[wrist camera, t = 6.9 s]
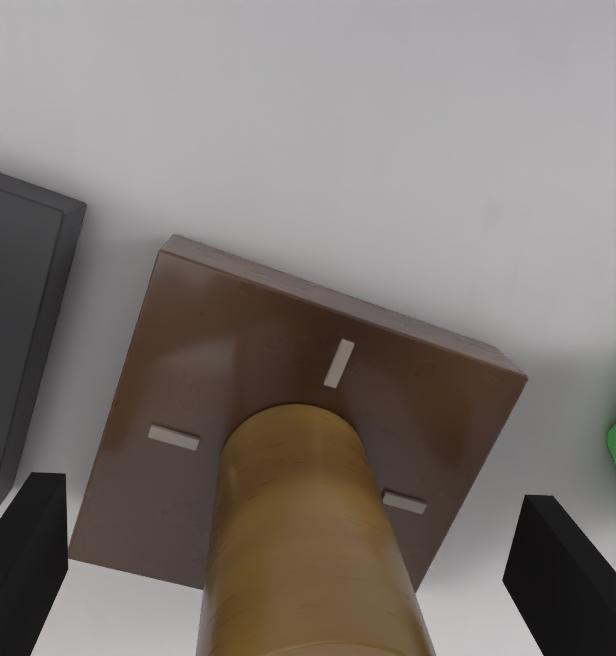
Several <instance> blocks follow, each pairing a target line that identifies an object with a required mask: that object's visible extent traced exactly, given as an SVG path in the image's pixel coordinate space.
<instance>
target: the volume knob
mask: <svg viewBox="0 0 616 656" xmlns="http://www.w3.org/2000/svg"><path fill="white" fill-rule="evenodd" d="M196 656H436V653H435V650H434V647H433V644H432V641H431V639H430V636H429V633H428V630H427V627H426V624H425V621H424V618H423V615H422V613H421V610H420V607H419V604H418V601H417V598H416V595H415V592H414V589H413V587H412V584H411V581H410V578H409V575H408V572H407V569H406V566H405V563H404V561H403V558H402V555H401V552H400V549H399V546H398V543H397V540H396V537H395V535H394V532H393V529H392V526H391V523H390V520H389V517H388V514H387V511H386V509H385V506H384V503H383V500H382V497H381V494H380V491H379V488H378V485H377V483H376V480H375V477H374V474H373V471H372V468H371V465H370V462H369V459H368V457H367V454H366V451H365V448H364V445H363V443H362V441H361V439H360V437H359V435H358V434H357V433H356V431H355V430H354V429H353V428H352V427H351V426H350V425H349V424H348V423H347V422H346V421H345V420H343V419H342V418H341V417H339V416H338V415H336V414H334V413H332V412H330V411H328V410H325V409H323V408H319V407H316V406H312V405H304V404H289V405H281V406H276V407H272V408H269V409H266V410H264V411H261V412H259V413H257V414H255V415H253V416H252V417H250V418H249V419H247V420H246V421H245V422H243V423H242V424H241V425H240V426H239V427H238V428H237V429H236V430H235V431H234V432H233V433H232V434H231V436H230V437H229V439H228V440H227V442H226V443H225V446H224V448H223V450H222V452H221V456H220V459H219V465H218V472H217V481H216V489H215V497H214V506H213V514H212V523H211V531H210V539H209V548H208V556H207V565H206V573H205V582H204V590H203V598H202V607H201V615H200V624H199V632H198V640H197V649H196Z"/></svg>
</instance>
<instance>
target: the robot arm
mask: <svg viewBox="0 0 616 656" xmlns="http://www.w3.org/2000/svg"><path fill="white" fill-rule="evenodd" d="M67 571H68V542H67V505H66V474H61V473H39V472H31V474H30V475H29V477H28V478H27V480H26V481H25V483H24V484H23V486H22V487H21V489H20V490H19V492H18V493H17V495H16V496H15V498H14V499H13V501H12V502H11V503H10V505H9V506H8V508H7V509H6V511H5V512H4V514H3V515H2V517H1V518H0V656H30V655H31V653H32V650H33V648H34V646H35V644H36V641H37V639H38V637H39V635H40V632H41V630H42V628H43V625H44V623H45V621H46V619H47V616H48V614H49V612H50V609H51V607H52V605H53V603H54V600H55V598H56V596H57V593H58V591H59V589H60V587H61V584H62V582H63V580H64V578H65V575H66V573H67ZM502 581H503V583H504V585H505V587H506V588H507V590H508V592H509V594H510V596H511V597H512V599H513V601H514V603H515V605H516V607H517V608H518V610H519V612H520V614H521V616H522V617H523V619H524V621H525V623H526V625H527V626H528V628H529V630H530V632H531V634H532V635H533V637H534V639H535V641H536V643H537V645H538V646H539V648H540V650H541V652H542V654H543V655H544V656H616V572H615V570H614V569H613V568H612V567H611V566H610V564H609V563H608V562H607V561H606V559H605V558H604V557H603V556H602V555H601V553H600V552H599V551H598V550H597V549H596V547H595V546H594V545H593V544H592V543H591V541H590V540H589V539H588V538H587V536H586V535H585V534H584V533H583V532H582V530H581V529H580V528H579V527H578V526H577V524H576V523H575V522H574V521H573V520H572V518H571V517H570V516H569V515H568V513H567V512H566V511H565V510H564V509H563V507H562V506H561V505H560V504H559V503H558V501H557V500H556V499H555V498H554V496H547V495H525V497H524V500H523V504H522V508H521V512H520V515H519V519H518V523H517V527H516V531H515V534H514V538H513V542H512V546H511V549H510V553H509V557H508V561H507V564H506V568H505V572H504V576H503V580H502Z"/></svg>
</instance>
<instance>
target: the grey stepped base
mask: <svg viewBox="0 0 616 656" xmlns="http://www.w3.org/2000/svg"><path fill="white" fill-rule="evenodd" d="M85 208H86V204H85V203H84V202H81V201H79V200H76V199H73V198H70V197H67V196H64V195H62V194H59V193H56V192H53V191H50V190H47V189H44V188H42V187H39V186H36V185H33V184H30V183H27V182H25V181H22V180H19V179H16V178H13V177H10V176H8V175H5V174H2V173H0V505H1V504H2V502H3V501H4V499H5V498H6V496H7V495H8V494H9V492H10V491H11V489H12V487H13V483H14V479H15V476H16V472H17V468H18V464H19V460H20V457H21V453H22V449H23V445H24V441H25V437H26V434H27V430H28V426H29V422H30V418H31V415H32V411H33V407H34V403H35V399H36V395H37V392H38V388H39V384H40V380H41V376H42V373H43V369H44V365H45V361H46V357H47V353H48V350H49V346H50V342H51V338H52V334H53V331H54V327H55V323H56V319H57V315H58V311H59V308H60V304H61V300H62V296H63V292H64V289H65V285H66V281H67V277H68V273H69V269H70V266H71V262H72V258H73V254H74V250H75V247H76V243H77V239H78V235H79V231H80V227H81V224H82V220H83V216H84V212H85Z"/></svg>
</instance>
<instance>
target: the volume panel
mask: <svg viewBox="0 0 616 656" xmlns="http://www.w3.org/2000/svg"><path fill="white" fill-rule="evenodd" d="M528 378H529V377H528V376H527V375H526V374H525V373H524V372H523V371H521V370H520V369H519V368H518V367H517V366H516V365H515V364H513V363H512V362H511V361H510V360H509V359H508V358H507V357H506V356H504V355H503V354H502V353H501V352H500V351H499V350H498V349H496V348H495V347H493V346H490V345H487V344H484V343H481V342H478V341H476V340H473V339H470V338H467V337H464V336H461V335H459V334H456V333H453V332H450V331H447V330H444V329H442V328H439V327H436V326H433V325H430V324H427V323H425V322H422V321H419V320H416V319H413V318H410V317H407V316H405V315H402V314H399V313H396V312H393V311H390V310H388V309H385V308H382V307H379V306H376V305H373V304H371V303H368V302H365V301H362V300H359V299H356V298H354V297H351V296H348V295H345V294H342V293H339V292H337V291H334V290H331V289H328V288H325V287H322V286H320V285H317V284H314V283H311V282H308V281H305V280H302V279H300V278H297V277H294V276H291V275H288V274H285V273H283V272H280V271H277V270H274V269H271V268H268V267H266V266H263V265H260V264H257V263H254V262H251V261H249V260H246V259H243V258H240V257H237V256H234V255H232V254H229V253H226V252H223V251H220V250H217V249H215V248H212V247H209V246H206V245H203V244H200V243H197V242H195V241H192V240H189V239H186V238H183V237H180V236H178V235H172V236H171V238H170V239H169V240H168V241H167V242H166V243H165V245H164V246H163V247H162V248H161V249H160V250H159V251H158V254H157V258H156V261H155V264H154V268H153V271H152V274H151V277H150V281H149V284H148V287H147V291H146V294H145V297H144V300H143V304H142V307H141V310H140V313H139V317H138V320H137V323H136V327H135V330H134V333H133V336H132V340H131V343H130V346H129V350H128V353H127V356H126V359H125V363H124V366H123V369H122V373H121V376H120V379H119V382H118V386H117V389H116V392H115V396H114V399H113V402H112V405H111V409H110V412H109V415H108V418H107V422H106V425H105V428H104V432H103V435H102V438H101V441H100V445H99V448H98V451H97V455H96V458H95V461H94V464H93V468H92V471H91V474H90V478H89V481H88V484H87V487H86V491H85V494H84V497H83V500H82V504H81V507H80V510H79V514H78V517H77V520H76V523H75V527H74V530H73V533H72V537H71V540H70V543H69V546H68V559H73V560H77V561H81V562H85V563H90V564H94V565H98V566H103V567H107V568H111V569H115V570H120V571H124V572H128V573H133V574H137V575H141V576H145V577H150V578H154V579H158V580H163V581H167V582H171V583H175V584H180V585H184V586H188V587H193V588H197V589H201V590H204V582H205V573H206V565H207V556H208V548H209V539H210V531H211V523H212V514H213V506H214V497H215V489H216V481H217V472H218V465H219V459H220V456H221V452H222V450H223V448H224V446H225V443H226V442H227V440H228V439H229V437H230V436H231V434H232V433H233V432H234V431H235V430H236V429H237V428H238V427H239V426H240V425H241V424H242V423H243V422H245V421H246V420H247V419H249V418H250V417H252V416H253V415H255V414H257V413H259V412H261V411H264V410H266V409H269V408H272V407H276V406H281V405H289V404H304V405H312V406H316V407H319V408H323V409H325V410H328V411H330V412H332V413H334V414H336V415H338V416H339V417H341V418H342V419H343V420H345V421H346V422H347V423H348V424H349V425H350V426H351V427H352V428H353V429H354V430H355V431H356V433H357V434H358V435H359V437H360V439H361V441H362V443H363V445H364V448H365V451H366V454H367V457H368V459H369V462H370V465H371V468H372V471H373V474H374V477H375V480H376V483H377V485H378V488H379V491H380V494H381V497H382V500H383V503H384V506H385V509H386V511H387V514H388V517H389V520H390V523H391V526H392V529H393V532H394V535H395V537H396V540H397V543H398V546H399V549H400V552H401V555H402V558H403V561H404V563H405V566H406V569H407V572H408V575H409V578H410V581H411V584H412V587H413V589H414V592H415V593H416V591H417V589H418V588H419V586H420V584H421V582H422V580H423V578H424V576H425V574H426V572H427V571H428V569H429V567H430V565H431V563H432V561H433V559H434V557H435V555H436V553H437V552H438V550H439V548H440V546H441V544H442V542H443V540H444V538H445V536H446V535H447V533H448V531H449V529H450V527H451V525H452V523H453V521H454V519H455V517H456V516H457V514H458V512H459V510H460V508H461V506H462V504H463V502H464V500H465V499H466V497H467V495H468V493H469V491H470V489H471V487H472V485H473V483H474V481H475V480H476V478H477V476H478V474H479V472H480V470H481V468H482V466H483V464H484V463H485V461H486V459H487V457H488V455H489V453H490V451H491V449H492V447H493V445H494V444H495V442H496V440H497V438H498V436H499V434H500V432H501V430H502V428H503V427H504V425H505V423H506V421H507V419H508V417H509V415H510V413H511V411H512V409H513V408H514V406H515V404H516V402H517V400H518V398H519V396H520V394H521V392H522V390H523V389H524V387H525V385H526V383H527V381H528Z"/></svg>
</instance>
